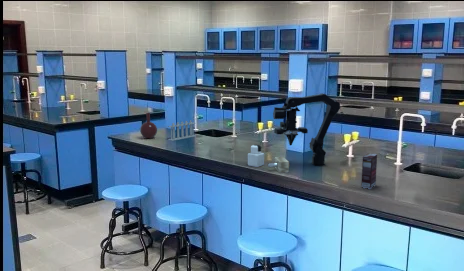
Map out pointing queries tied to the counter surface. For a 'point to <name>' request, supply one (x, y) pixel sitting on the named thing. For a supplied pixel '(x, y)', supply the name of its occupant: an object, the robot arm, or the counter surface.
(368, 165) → the supplement box
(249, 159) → the medicine bottle
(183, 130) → the test tube rack
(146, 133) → the round-bottom flask
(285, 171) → the block
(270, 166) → the pin
